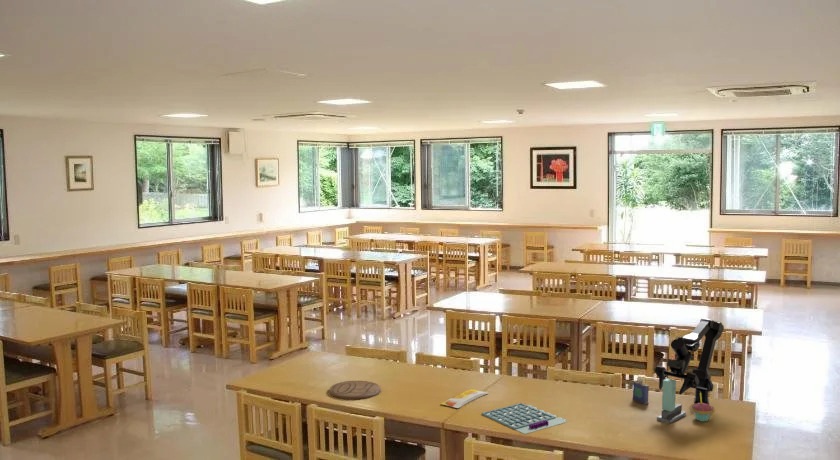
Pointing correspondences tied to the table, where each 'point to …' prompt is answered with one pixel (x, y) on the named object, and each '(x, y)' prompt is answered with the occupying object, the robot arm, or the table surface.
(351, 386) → the trivet
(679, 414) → the grey stepped block
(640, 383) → the blue gift bag
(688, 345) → the robot arm
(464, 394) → the food package
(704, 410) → the cupcake
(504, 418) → the calendar
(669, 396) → the peg
